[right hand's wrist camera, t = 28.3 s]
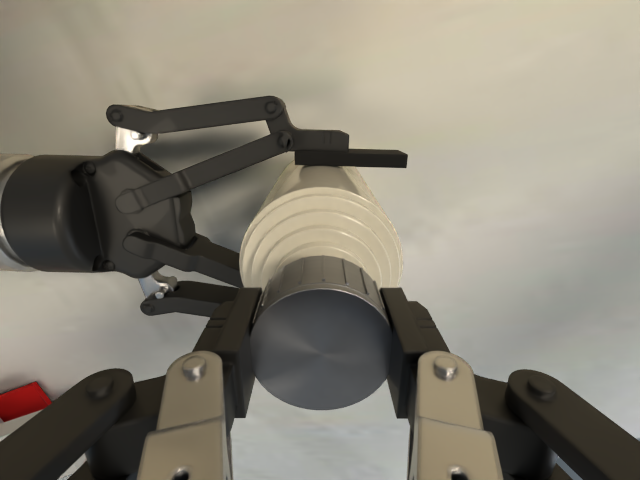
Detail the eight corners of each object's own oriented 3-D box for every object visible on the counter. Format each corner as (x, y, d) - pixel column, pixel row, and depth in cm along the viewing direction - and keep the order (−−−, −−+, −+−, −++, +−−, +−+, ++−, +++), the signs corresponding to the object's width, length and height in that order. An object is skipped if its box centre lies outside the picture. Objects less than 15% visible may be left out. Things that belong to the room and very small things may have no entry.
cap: (236, 284, 12) (217, 323, 10) (353, 233, 11) (361, 262, 9) (294, 376, 13) (289, 429, 11) (401, 335, 13) (418, 382, 10)
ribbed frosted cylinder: (270, 154, 27) (179, 233, 10) (364, 148, 27) (449, 217, 9) (280, 242, 30) (222, 431, 12) (366, 237, 30) (434, 421, 12)
